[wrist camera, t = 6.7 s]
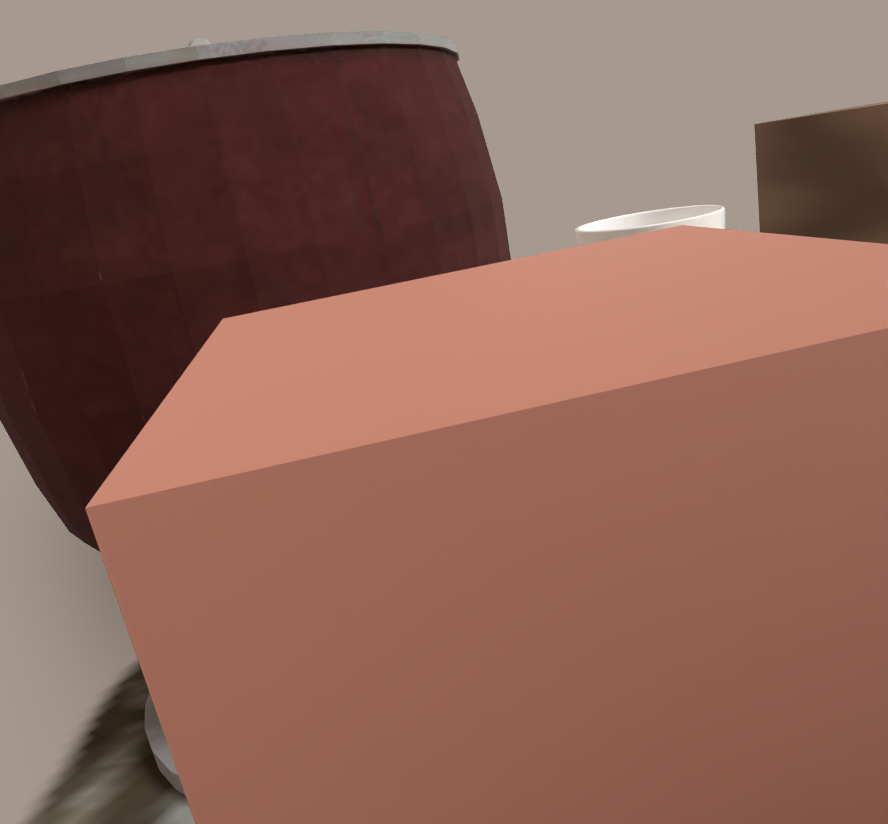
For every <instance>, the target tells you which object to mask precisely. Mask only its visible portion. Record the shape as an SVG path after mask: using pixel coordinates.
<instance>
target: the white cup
mask: <svg viewBox="0 0 888 824" xmlns="http://www.w3.org/2000/svg"><path fill="white" fill-rule="evenodd" d="M680 225H687V226H697V227H708V228H719V229H725V207H724V206H721V205H697V206H685V207H675V208H667V209H660V210H652V211H646V212H639V213H634V214H628V215H623V216H617V217H613V218H608V219H604V220H599V221H595V222H591V223H588V224H585V225H582V226H579V227H577V228H576V229H575V235H576V241H577V246H582V245H587V244H592V243H597V242H602V241H606V240H611V239H616V238H621V237H626V236H631V235H636V234H641V233H646V232H651V231H655V230H660V229H665V228H670V227H675V226H680Z"/></svg>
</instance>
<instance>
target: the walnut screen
mask: <svg viewBox="0 0 888 824" xmlns="http://www.w3.org/2000/svg"><path fill="white" fill-rule="evenodd" d="M755 142H756V162H757V181H758V202H759V222H760V232H762V233H773V234H784V235H794V236H805V237H816V238H827V239H838V240H848V241H859V242H870V243H881V244H888V102H883V103H876V104H870V105H864V106H858V107H852V108H845V109H840V110H833V111H827V112H820V113H815V114H809V115H803V116H798V117H792V118H787V119H781V120H776V121H770V122H765V123H759V124H755Z"/></svg>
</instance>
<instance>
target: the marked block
mask: <svg viewBox="0 0 888 824" xmlns="http://www.w3.org/2000/svg"><path fill="white" fill-rule="evenodd" d="M85 509H86V512H87V515H88V518H89V521H90V523H91V526H92V529H93V532H94V535H95V538H96V541H97V543H98V546H99V549H100V552H101V555H102V558H103V561H104V563H105V566H106V569H107V572H108V575H109V578H110V581H111V583H112V586H113V589H114V592H115V595H116V598H117V601H118V603H119V606H120V609H121V612H122V615H123V618H124V620H125V623H126V626H127V629H128V632H129V635H130V638H131V641H132V643H133V646H134V649H135V652H136V655H137V658H138V661H139V664H140V666H141V669H142V672H143V675H144V678H145V681H146V684H147V686H148V689H149V692H150V695H151V698H152V701H153V704H154V706H155V709H156V712H157V715H158V718H159V721H160V724H161V726H162V729H163V732H164V735H165V738H166V741H167V744H168V746H169V749H170V752H171V755H172V758H173V761H174V764H175V766H176V769H177V772H178V775H179V778H180V781H181V784H182V786H183V789H184V792H185V795H186V798H187V801H188V804H189V806H190V809H191V812H192V815H193V818H194V821H195V824H888V244H881V243H870V242H859V241H848V240H838V239H827V238H816V237H805V236H794V235H784V234H773V233H762V232H751V231H741V230H740V231H739V230H730V229H719V228H708V227H697V226H687V225H680V226H675V227H670V228H665V229H660V230H655V231H651V232H646V233H641V234H636V235H631V236H626V237H621V238H616V239H611V240H606V241H602V242H597V243H592V244H587V245H582V246H577V247H572V248H567V249H562V250H557V251H553V252H548V253H543V254H538V255H533V256H528V257H524V258H519V259H514V260H508V261H504V262H499V263H494V264H489V265H484V266H479V267H474V268H469V269H464V270H459V271H454V272H450V273H445V274H440V275H435V276H430V277H425V278H420V279H415V280H410V281H405V282H401V283H396V284H391V285H386V286H381V287H376V288H371V289H366V290H361V291H356V292H352V293H347V294H342V295H337V296H332V297H327V298H322V299H317V300H312V301H307V302H303V303H298V304H293V305H288V306H283V307H278V308H273V309H268V310H263V311H258V312H254V313H249V314H244V315H239V316H234V317H229V318H224V319H222V321H221V322H220V323H219V325H218V326H217V328H216V329H215V330H214V332H213V333H212V334H211V336H210V337H209V339H208V340H207V341H206V343H205V344H204V345H203V347H202V348H201V350H200V351H199V352H198V354H197V355H196V356H195V358H194V359H193V360H192V362H191V363H190V365H189V366H188V367H187V369H186V370H185V371H184V373H183V374H182V376H181V377H180V378H179V380H178V381H177V382H176V384H175V385H174V387H173V388H172V389H171V391H170V392H169V393H168V395H167V396H166V398H165V399H164V400H163V402H162V403H161V404H160V406H159V407H158V409H157V410H156V411H155V413H154V414H153V415H152V417H151V418H150V420H149V421H148V422H147V424H146V425H145V426H144V428H143V429H142V431H141V432H140V433H139V435H138V436H137V437H136V439H135V440H134V441H133V443H132V444H131V446H130V447H129V448H128V450H127V451H126V452H125V454H124V455H123V457H122V458H121V459H120V461H119V462H118V463H117V465H116V466H115V468H114V469H113V470H112V472H111V473H110V474H109V476H108V477H107V479H106V480H105V481H104V483H103V484H102V485H101V487H100V488H99V490H98V491H97V492H96V494H95V495H94V496H93V498H92V499H91V501H90V502H89V503H88V505H87V506H86V507H85Z"/></svg>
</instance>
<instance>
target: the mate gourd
mask: <svg viewBox="0 0 888 824" xmlns="http://www.w3.org/2000/svg"><path fill="white" fill-rule="evenodd" d="M458 60H459V55H458V49H457V45H456V43H455V42H453V41H451V40H449V39H447V38H445V37H441V36H436V35H429V34H423V33H413V32H391V31H365V32H331V33H318V34H304V35H292V36H279V37H266V38H258V39H250V40H242V41H233V42H225V43H216V44H211V43H210V42H209V41H208V40H207V39H205V38H196V39H194V40H192V41H191V42H190V43H189V47H186V48H181V49H174V50H168V51H161V52H155V53H149V54H143V55H136V56H130V57H125V58H119V59H114V60H109V61H105V62H99V63H94V64H89V65H84V66H80V67H74V68H69V69H65V70H60V71H55V72H51V73H47V74H43V75H40V76H36V77H32V78H28V79H24V80H20V81H16V82H12V83H8V84H4V85H0V420H1V422H2V424H3V426H4V428H5V429H6V431H7V433H8V435H9V436H10V438H11V440H12V442H13V444H14V445H15V448H16V449H17V451H18V453H19V455H20V457H21V458H22V460H23V462H24V464H25V466H26V467H27V469H28V471H29V473H30V475H31V476H32V478H33V480H34V482H35V484H36V485H37V487H38V488H39V489H40V491H41V492H42V494H43V495H44V496H45V498H46V499H47V501H48V502H49V503H50V505H51V506H52V508H53V509H54V510H55V512H56V513H57V515H58V516H59V517H60V519H61V520H62V521H63V523H64V524H65V526H66V527H67V529H68V530H69V531H70V532H71V533H72V534H74V535H75V536H76V537H78V538H79V539H81V540H82V541H83V542H85V543H86V544H88V545H90V546H91V547H93V548H95V549H97V550H98V551H100V549H99V546H98V543H97V541H96V538H95V535H94V532H93V529H92V526H91V523H90V521H89V518H88V515H87V512H86V509H85V507H86V506H87V505H88V503H89V502H90V501H91V499H92V498H93V496H94V495H95V494H96V492H97V491H98V490H99V488H100V487H101V485H102V484H103V483H104V481H105V480H106V479H107V477H108V476H109V474H110V473H111V472H112V470H113V469H114V468H115V466H116V465H117V463H118V462H119V461H120V459H121V458H122V457H123V455H124V454H125V452H126V451H127V450H128V448H129V447H130V446H131V444H132V443H133V441H134V440H135V439H136V437H137V436H138V435H139V433H140V432H141V431H142V429H143V428H144V426H145V425H146V424H147V422H148V421H149V420H150V418H151V417H152V415H153V414H154V413H155V411H156V410H157V409H158V407H159V406H160V404H161V403H162V402H163V400H164V399H165V398H166V396H167V395H168V393H169V392H170V391H171V389H172V388H173V387H174V385H175V384H176V382H177V381H178V380H179V378H180V377H181V376H182V374H183V373H184V371H185V370H186V369H187V367H188V366H189V365H190V363H191V362H192V360H193V359H194V358H195V356H196V355H197V354H198V352H199V351H200V350H201V348H202V347H203V345H204V344H205V343H206V341H207V340H208V339H209V337H210V336H211V334H212V333H213V332H214V330H215V329H216V328H217V326H218V325H219V323H220V322H221V321H222V319H224V318H229V317H234V316H239V315H244V314H249V313H254V312H258V311H263V310H268V309H273V308H278V307H283V306H288V305H293V304H298V303H303V302H307V301H312V300H317V299H322V298H327V297H332V296H337V295H342V294H347V293H352V292H356V291H361V290H366V289H371V288H376V287H381V286H386V285H391V284H396V283H401V282H405V281H410V280H415V279H420V278H425V277H430V276H435V275H440V274H445V273H450V272H454V271H459V270H464V269H469V268H474V267H479V266H484V265H489V264H494V263H499V262H504V261H508V260H511V258H510V251H509V244H508V237H507V230H506V224H505V217H504V210H503V203H502V197H501V194H500V190H499V187H498V183H497V180H496V177H495V173H494V170H493V166H492V163H491V159H490V156H489V152H488V149H487V146H486V142H485V139H484V135H483V132H482V129H481V125H480V121H479V118H478V115H477V112H476V109H475V107H474V104H473V102H472V99H471V97H470V94H469V92H468V89H467V87H466V84H465V82H464V79H463V77H462V74H461V72H460V69H459V67H458V64H457V61H458ZM144 729H145V731H146V734H147V737H148V740H149V743H150V746H151V749H152V752H153V754H154V757H155V760H156V763H157V766H158V768H159V770H160V772H161V773H162V774H163V775H164V776H165V777H166V779H167V780H168V781H169V782H170V783H171V784H172V785H173V787H174V788H175V789H176V790H177V791H179V792H180V793H182V794H184V795H185V792H184V789H183V786H182V784H181V781H180V778H179V775H178V772H177V769H176V766H175V764H174V761H173V758H172V755H171V752H170V749H169V746H168V744H167V741H166V738H165V735H164V732H163V729H162V726H161V724H160V721H159V718H158V715H157V712H156V709H155V706H154V704H153V701H152V698H151V695H150V692H149V695H148V698H147V701H146V704H145V728H144Z"/></svg>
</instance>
